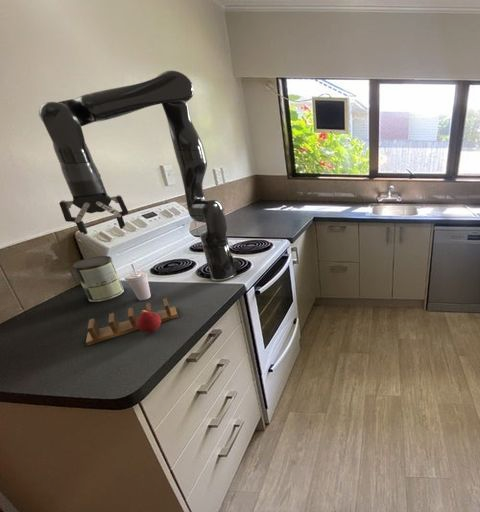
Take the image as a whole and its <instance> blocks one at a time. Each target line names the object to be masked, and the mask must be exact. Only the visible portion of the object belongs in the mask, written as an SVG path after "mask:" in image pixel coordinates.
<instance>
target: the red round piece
mask: <svg viewBox="0 0 480 512" xmlns="http://www.w3.org/2000/svg"><path fill="white" fill-rule="evenodd" d="M155 312H156V311H155ZM155 312H154V311H153V312H150V311H147V310H145V309H142V310H141V313H140V314H139V316H138V317H137V318H138V319H137V321H136V325H137V328H138V329H139V331H141V332H144V333H149V334H150V333H152V334H153V333H155V332H156V330H158V329H159V327H160V326H161V325H162V322H161V318H160V316H159V315H158V314H157V313H155Z"/></svg>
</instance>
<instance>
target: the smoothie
mask: <svg viewBox="0 0 480 512" xmlns="http://www.w3.org/2000/svg"><path fill="white" fill-rule="evenodd" d="M131 267H132V270H133V272H130V273H128V274H126V275H125V276H124V280H125V281H127V283H128V285H129V287H131V290H132V291H133V293H134V295H135V296H136V299H138V301H145V300H149V299H150V298H151V297H152V294H151V291H150V290H151V289H150V284H149V278H148V271H146V270H139V271H137V269H136V268H135V265H134V263H131Z"/></svg>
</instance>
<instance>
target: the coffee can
mask: <svg viewBox="0 0 480 512" xmlns="http://www.w3.org/2000/svg"><path fill="white" fill-rule="evenodd" d="M71 267H72V269H73V270H74V272H75V274H76V276H77V279H78V281H79V282H80V284H81V287H82V288H83V290H84V293H85V295H86V297H87V300H88V301H89V302H91V303H96V302H97V303H98V302H99V303H100V302H105V301H108V300H112V299H114V298H117V297H119V296H121V295H122V294H123V293H124V292H125V288H124V287H123V285H122V282H121V280H120V277H119V275H118V272H117V270H116V268H115V265H114V263H113V260H112V257H111V256H109V255H99V256H93V257H88V258H84V259H80V260H79V261H76V262H74V263H73V264H72V265H71Z"/></svg>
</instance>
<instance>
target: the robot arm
mask: <svg viewBox="0 0 480 512" xmlns="http://www.w3.org/2000/svg"><path fill="white" fill-rule="evenodd" d="M193 84H194V83H193V82H192V81H191V79H190V78H189V77H188V76H187V75H186V74H184V73H183V72H181V71H177V70H171V69H170V70H169V69H168V70H165V71H163V72H161V73H160V74H158V75H157V76H155V77H154V78H151V79H149V80H145V81H142V82H139V83H135V84H130V85H124V86H120V87H119V86H118V87H113V88H108V89H103V90H99V91H94V92H90V93H85V94H82V95H80V96H77V97H75V98H71V99H66V100H59V101H48V102H45V103H43V104H42V105H40V106H39V109H38V117H39V118H40V120H41V122H42V123H43V125H44V127H45V129H46V131H47V134H48V136H49V137H50V139H51V142H52V147H53V150H54V151H53V152H54V153H55V156H56V158H57V161H58V162H59V166H60V169H61V173H62V175H63V178H64V180H65V182H66V184H67V187H68V189H69V191H70V194H71V196H72V200H64V199H62V200H61V201H60V202H59V203H58V204H59V207H60V209H61V213H62V215H63V219H64V221H65V222H67V223H69V222H70V223H74V224H75V225H76V227H77V230H78V232H80V233H81V234H83V235H88V230H87V227H86V225H85V223H84V221H83V220H82V219H84V216H85V214H95V213H104V212H105V211H107V212H108V213H110V214H112V215H113V216H115V217H116V218H115V219H116V221H117V223H118V226H119V229H120V230H123V229H124V228H125V226H126V223H125V220H124V218H123V217H124V216H126V215H128V214H129V210H128V208H127V206H126V203H125V201H124V199H123V197H122V195H121V194H117V195H114V196H109V195H108V193H107V191H106V187H105V186H104V182H103V179H102V177H101V176H102V175H101V174H100V172H99V169H98V167H97V166H96V164H95V162H94V159H93V157H92V154H91V152H90V151H91V150H90V149H89V147H88V144H87V143H86V140H85V136H84V133H83V129H82V127H85V126H87V125H90V124H93V123H97V122H99V123H100V122H104V121H107V120H108V121H109V120H112V119H116V118H119V117H123V116H125V115H129V114H131V113H135V112H138V111H139V110H143V109H146V108H149V107H153V106H157V105H161V106H162V109H163V111H164V114H165V117H166V120H167V126H168V129H169V134H170V139H171V142H172V147H173V151H174V154H175V158H176V161H177V165H178V168H179V171H180V176H181V180H182V181H181V182H182V184H183V189H184V195H185V202H186V207H187V211H188V215H189V217H190V218H191V219H192V220H193V221H195V222H197V223H201V224H205V226H206V230H204V231H202V232H201V233H200V234H199V238H200V241H201V245H202V249H203V253H204V257H205V260H206V261H205V262H206V264H207V268H208V272H209V275H210V279H211V281H212V282H224V281H227V280H231V279H233V278H234V277H237V276H238V274H237V271H238V270H239V269H240V268H241V266H242V265H241V262H239V260H238V259H237V258H236V257H234V256H233V254H232V253H231V249H230V244H229V239H228V235H227V232H228V226H227V219H226V214H225V209H224V207H223V205H222V203H221V202H220V201H219V200H216V199H207V198H206V196H205V192H204V188H203V184H204V183H203V181H204V177H205V175H206V172H207V167H208V160H207V156H206V152H205V147H204V144H203V142H202V140H201V137H200V135H199V132H198V131H197V129H196V127H195V125H194V123H193V121H192V118H191V115H190V109H189V104H188V103H189V101H190V100H191V99H192V98H193V96H194V94H195V87H194V85H193ZM112 201H113V202H114V203H116V204H118V205H119V207H120V211H119V210H117V209H115V208H114V207H113V206H111V205H110V204H111V202H112ZM72 205H74V206H75V207H76V208H78V209H80V210H79V212H78V213H77V215H76V216H72V214H71V211H70V209H71V208H72Z"/></svg>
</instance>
